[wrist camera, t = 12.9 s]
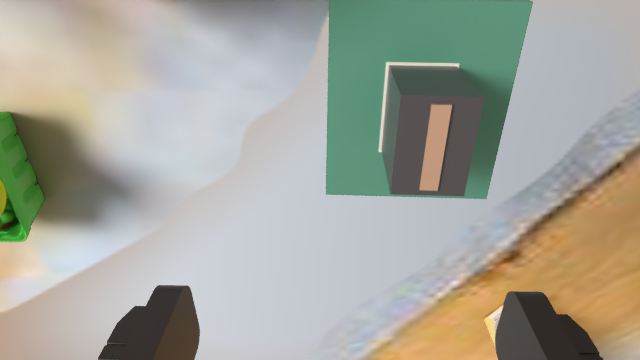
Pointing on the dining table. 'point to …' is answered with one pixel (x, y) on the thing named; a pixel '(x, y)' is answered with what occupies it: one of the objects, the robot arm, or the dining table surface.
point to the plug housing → (429, 129)
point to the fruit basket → (16, 185)
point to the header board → (414, 50)
